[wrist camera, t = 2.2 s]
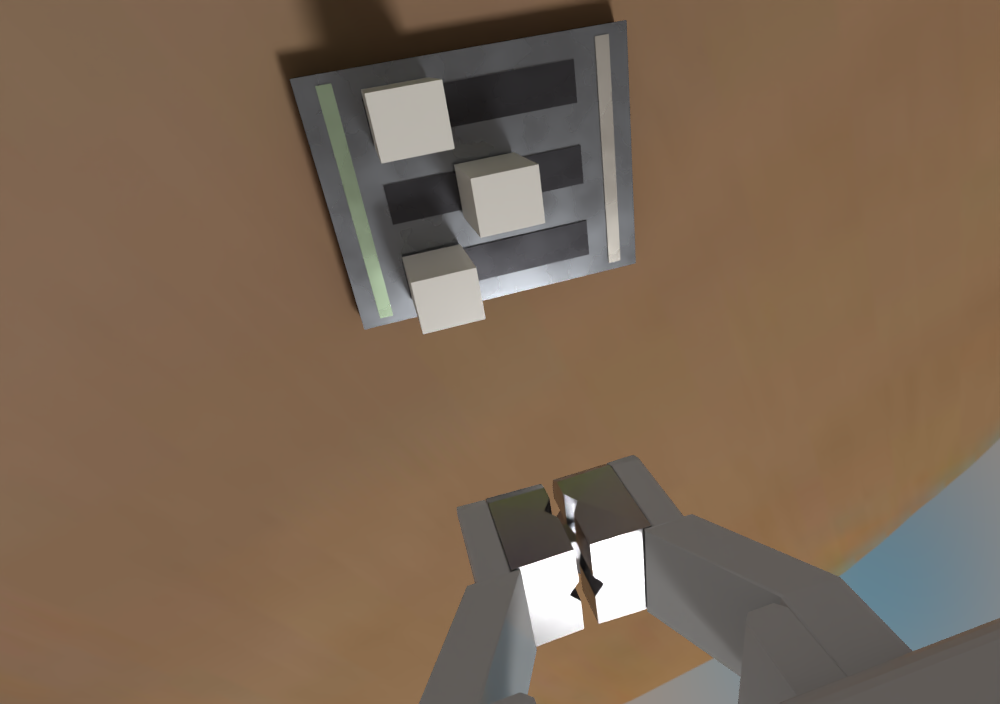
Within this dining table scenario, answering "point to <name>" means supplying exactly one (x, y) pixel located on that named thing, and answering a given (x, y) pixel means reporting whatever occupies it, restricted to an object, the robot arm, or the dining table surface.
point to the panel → (476, 135)
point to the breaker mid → (500, 193)
